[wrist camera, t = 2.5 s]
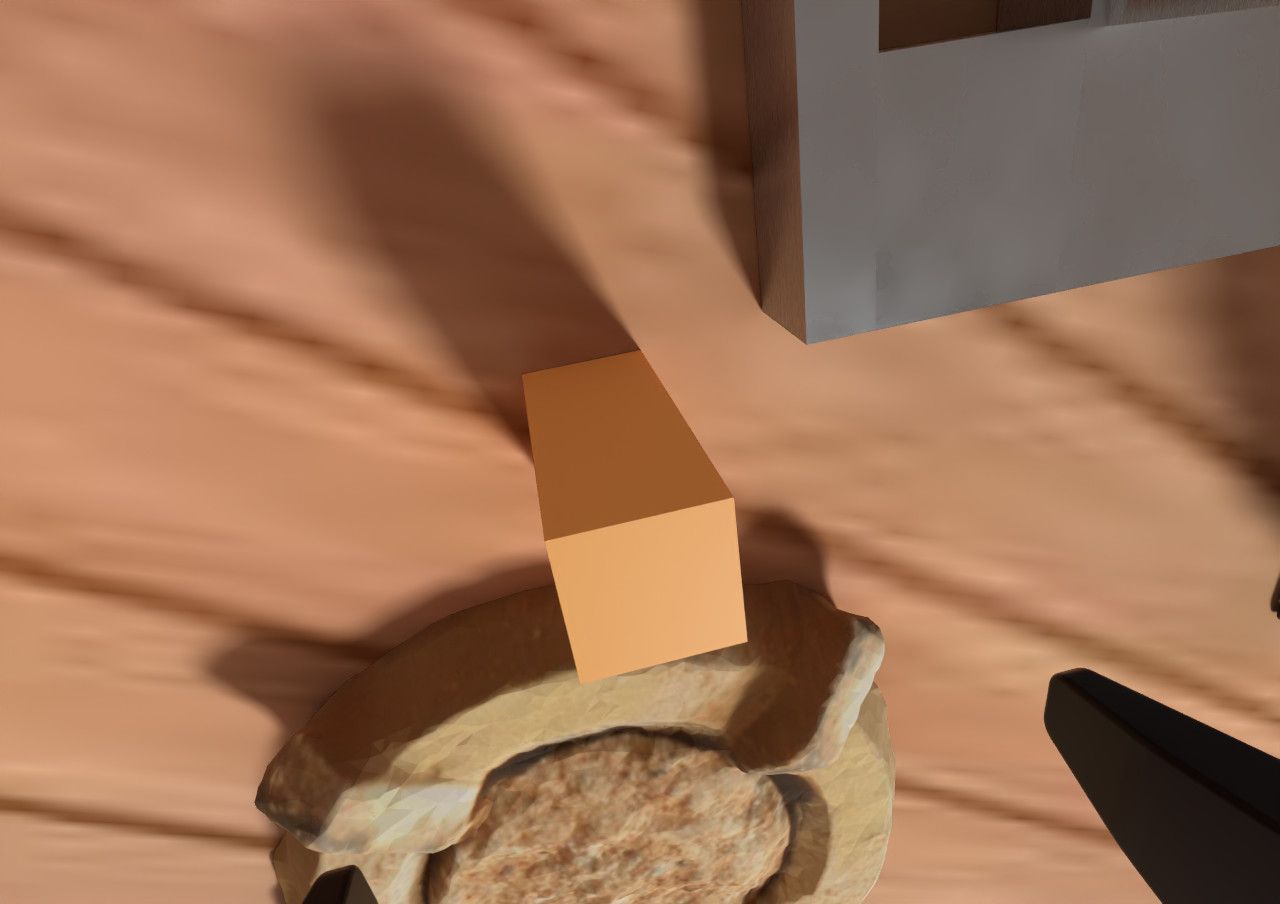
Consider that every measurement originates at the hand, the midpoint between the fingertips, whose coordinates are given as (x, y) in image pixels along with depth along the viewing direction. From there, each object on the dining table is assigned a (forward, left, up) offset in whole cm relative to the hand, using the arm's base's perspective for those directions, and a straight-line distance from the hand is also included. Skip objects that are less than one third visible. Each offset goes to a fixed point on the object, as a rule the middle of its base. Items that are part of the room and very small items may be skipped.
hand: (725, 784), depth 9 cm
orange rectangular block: (0, 0, -12) cm, 12 cm away
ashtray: (-16, +2, -12) cm, 20 cm away
